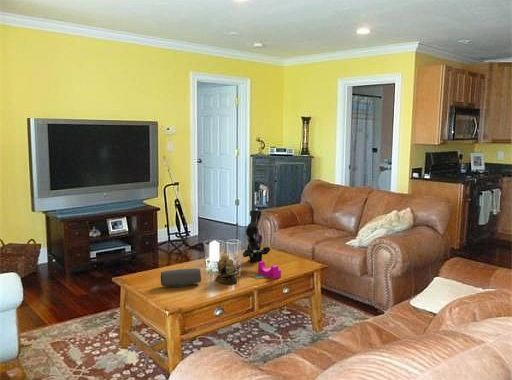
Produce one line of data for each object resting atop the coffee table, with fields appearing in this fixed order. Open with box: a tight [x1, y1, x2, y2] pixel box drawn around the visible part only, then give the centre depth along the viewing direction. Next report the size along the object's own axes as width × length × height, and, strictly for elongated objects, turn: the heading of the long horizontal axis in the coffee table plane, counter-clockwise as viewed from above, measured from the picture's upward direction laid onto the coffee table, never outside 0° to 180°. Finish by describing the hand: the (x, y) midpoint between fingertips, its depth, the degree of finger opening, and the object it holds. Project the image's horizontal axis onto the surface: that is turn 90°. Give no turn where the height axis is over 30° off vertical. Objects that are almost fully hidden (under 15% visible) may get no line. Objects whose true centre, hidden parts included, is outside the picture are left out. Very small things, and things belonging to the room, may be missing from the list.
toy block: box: [257, 260, 282, 280], centre depth 288 cm, size 15×6×8 cm, turn 42°
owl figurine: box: [215, 254, 238, 286], centre depth 276 cm, size 18×12×17 cm, turn 35°
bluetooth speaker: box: [160, 268, 202, 288], centre depth 266 cm, size 23×9×10 cm, turn 110°
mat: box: [251, 273, 268, 280], centre depth 288 cm, size 7×16×1 cm, turn 120°
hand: (260, 263), depth 294 cm, fingers closed
